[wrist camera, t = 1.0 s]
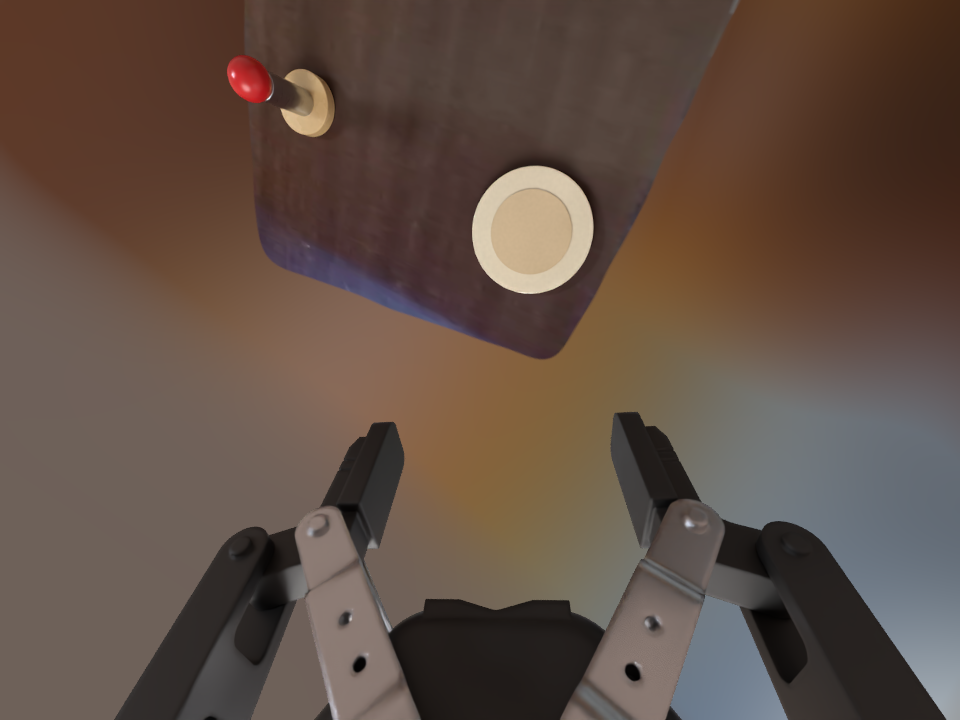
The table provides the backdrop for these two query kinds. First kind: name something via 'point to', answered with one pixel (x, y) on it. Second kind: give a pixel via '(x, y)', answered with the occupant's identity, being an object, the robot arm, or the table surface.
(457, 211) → the table surface
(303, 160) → the table surface
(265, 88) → the red ball post
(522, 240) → the plate
